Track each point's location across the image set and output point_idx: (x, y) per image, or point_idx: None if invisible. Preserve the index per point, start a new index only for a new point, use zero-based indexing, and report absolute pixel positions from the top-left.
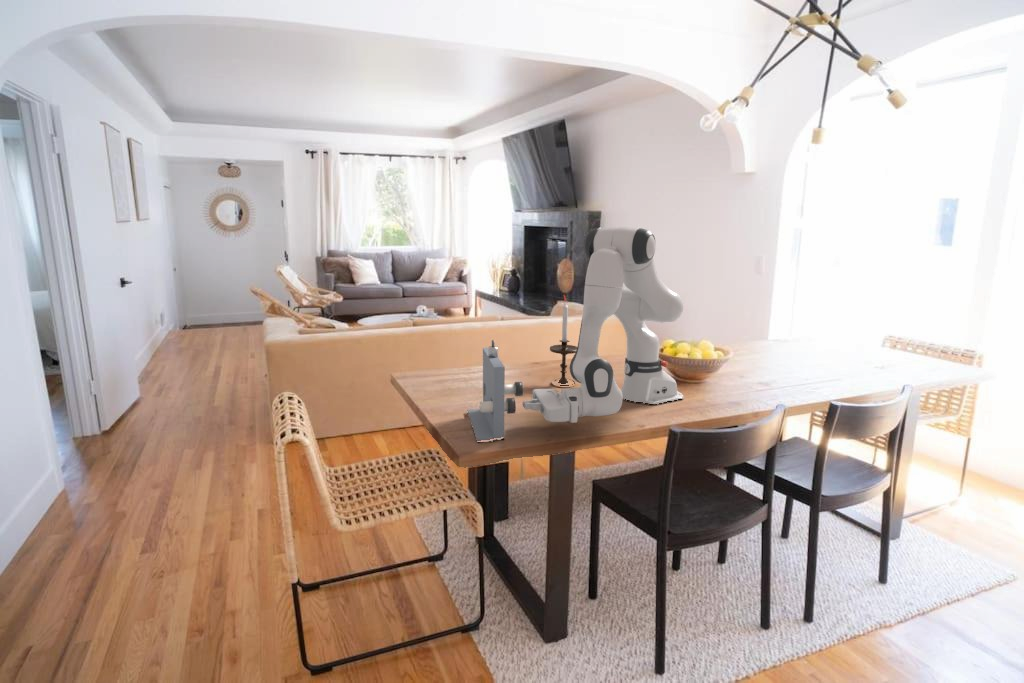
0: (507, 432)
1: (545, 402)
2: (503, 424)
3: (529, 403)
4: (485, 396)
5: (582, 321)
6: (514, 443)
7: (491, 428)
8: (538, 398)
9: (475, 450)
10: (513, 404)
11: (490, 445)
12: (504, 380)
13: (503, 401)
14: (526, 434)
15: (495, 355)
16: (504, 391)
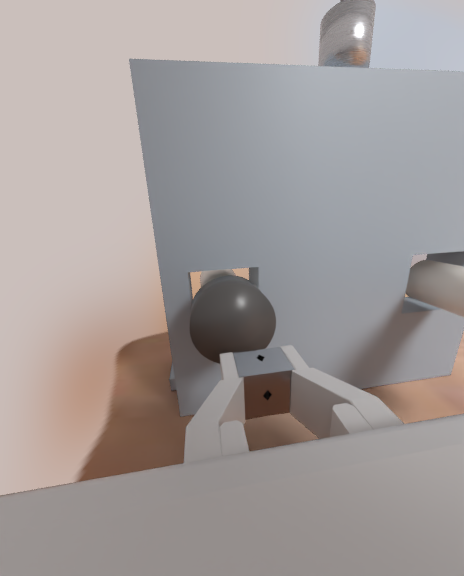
0: (261, 427)
1: (82, 542)
2: (173, 361)
3: (230, 372)
4: (408, 298)
5: None
6: (134, 455)
7: None
8: (362, 432)
9: (130, 358)
10: (192, 308)
11: (149, 383)
12: (143, 153)
13: (160, 266)
14: None
15: (328, 62)
16: (460, 301)
